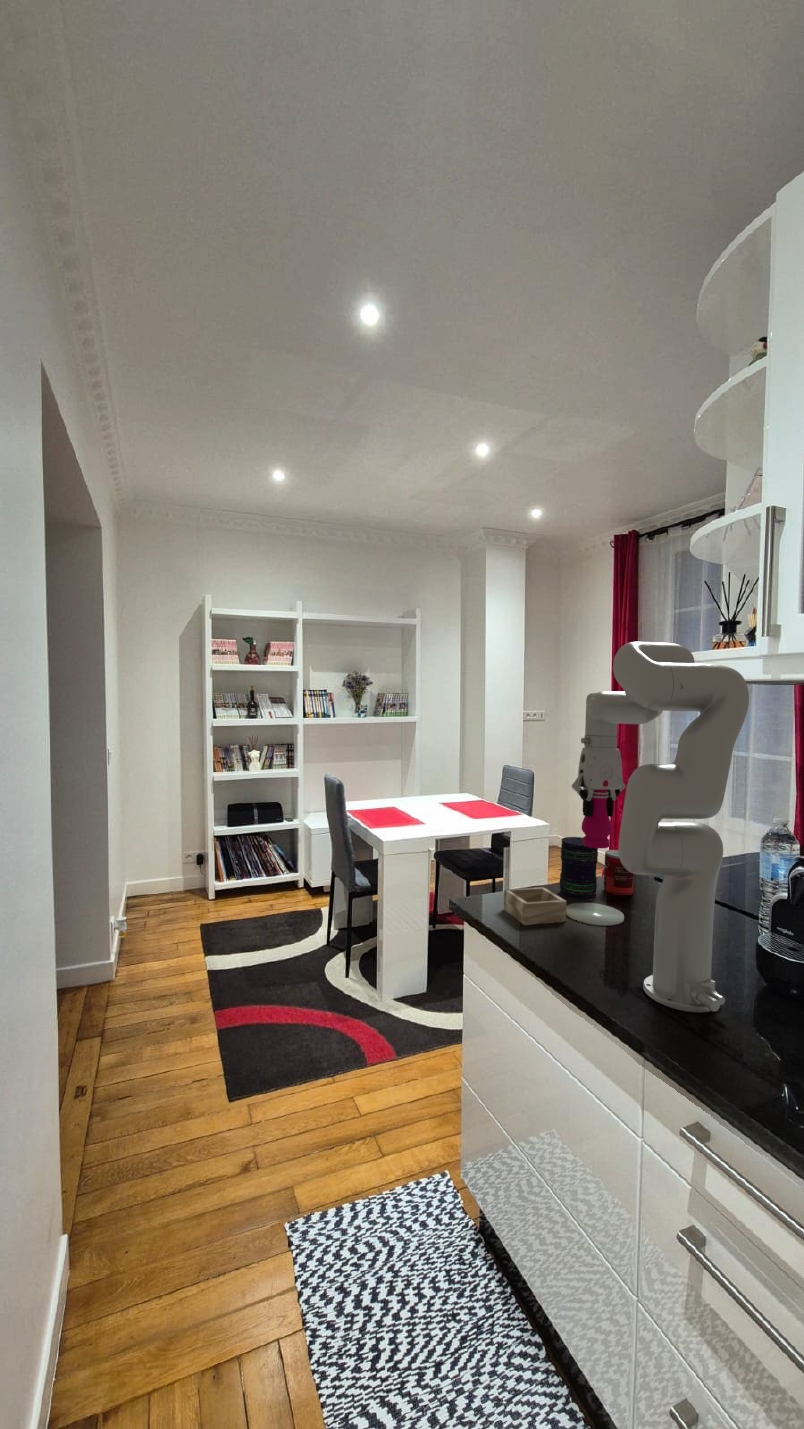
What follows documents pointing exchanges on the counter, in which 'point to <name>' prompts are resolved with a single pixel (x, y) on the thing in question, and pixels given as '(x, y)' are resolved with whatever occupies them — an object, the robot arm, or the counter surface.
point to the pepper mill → (597, 821)
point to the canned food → (617, 875)
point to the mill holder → (534, 905)
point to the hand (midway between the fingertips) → (597, 815)
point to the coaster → (594, 914)
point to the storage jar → (578, 869)
